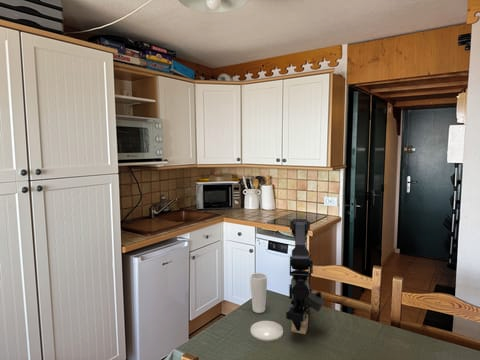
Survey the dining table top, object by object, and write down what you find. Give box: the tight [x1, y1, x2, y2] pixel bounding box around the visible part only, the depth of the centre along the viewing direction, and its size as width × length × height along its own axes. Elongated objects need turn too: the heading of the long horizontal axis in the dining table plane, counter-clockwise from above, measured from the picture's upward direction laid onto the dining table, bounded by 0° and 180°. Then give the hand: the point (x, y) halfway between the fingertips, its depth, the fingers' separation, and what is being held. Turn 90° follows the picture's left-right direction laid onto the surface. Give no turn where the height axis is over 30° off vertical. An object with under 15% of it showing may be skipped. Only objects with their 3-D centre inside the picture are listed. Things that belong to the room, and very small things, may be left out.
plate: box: [250, 320, 284, 342], centre depth 126 cm, size 12×12×1 cm
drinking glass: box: [249, 272, 268, 314], centre depth 141 cm, size 7×7×15 cm
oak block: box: [291, 314, 309, 335], centre depth 127 cm, size 5×5×5 cm
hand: (299, 326), depth 127 cm, fingers closed on oak block, 5 cm apart
